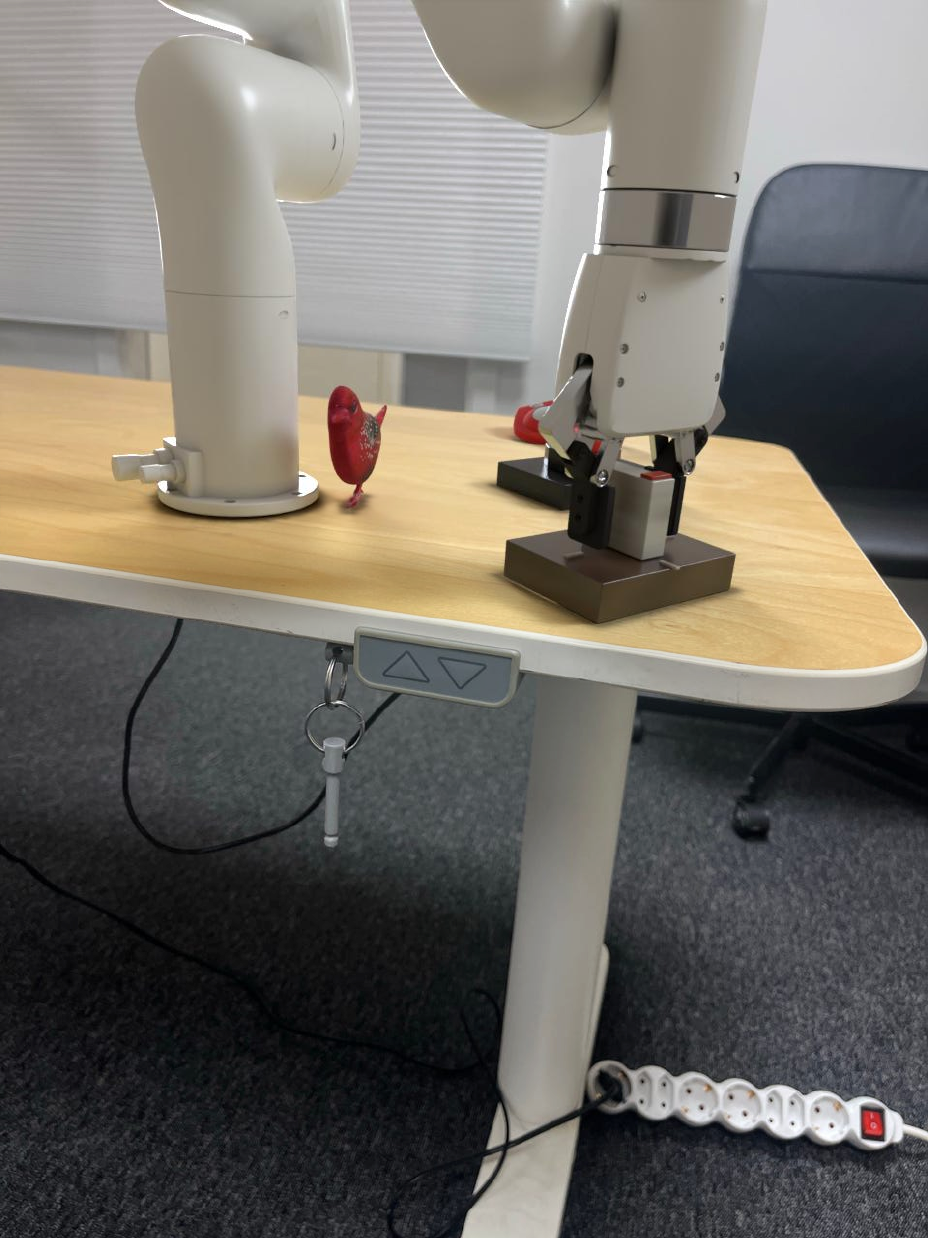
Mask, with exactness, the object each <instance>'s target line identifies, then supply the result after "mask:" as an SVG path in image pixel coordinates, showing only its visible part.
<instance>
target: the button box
mask: <svg viewBox="0 0 928 1238" xmlns="http://www.w3.org/2000/svg"><path fill="white" fill-rule="evenodd" d="M592 453H593V455H594V456H595V458H596V456H597V453H598V452H592ZM616 461H618V462H622V463H625V464H628V465H631V466H635V467H638V468H641V469H644V466H645V465H643V464H640V463H637V462H633V461H630V460H627V459H623V458H622V448H621V449H620V452H619V455H618V458H617V460H616ZM496 472H497V473H496V482H495V483H496V484H495V485H496V486H497V487H500V488H502V489H505V490H508V491H510V492H511V493H515V494H517V495H520V496H523V497H525V498H528V499H530V500H533V501H534V502H535V501H536V502H538V503H541V504H543V505H545V506H548V507H551V508H553V509H556V510H559V511H561V512H564V511H569V510H570V501H571V491H572V482H573V478H571V477H568V476H567V475H566V473H565V466H564V465H563V463H562V462H561V461H560V459H559V458H558V456H557V455H556V453H555V450H554V448H552V447H551V446H550V445H549V443H546V444H545V448H544V456H537V457H529V458H519V459H511V460H500V461H498V462H497V469H496Z"/></svg>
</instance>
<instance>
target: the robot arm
mask: <svg viewBox="0 0 928 1238" xmlns="http://www.w3.org/2000/svg"><path fill="white" fill-rule="evenodd" d="M157 1H158V2H160V3H161V4H162V5H164V6H165V7H166V8H169V9H171V10H173V11H175V12H176V13H178V14H180V15H183V16H185V17H188V18H190V19H192V20H195V21H198V22H200V23H201V22H202V23H204V24H208V25H209V26H210V25H211V26H214V27H217V28H220V29H222V30H225V31H229V32H232V33H236V34H238V35H240V36H242V39H243V43H242V42H239V41H236V40H232V39H230V38H226V37H222V36H216V35H211V34H200V33H199V34H198V33H197V34H195V33H194V34H183V35H179V36H176V37H173V38H170V39H168V40H167V41H164V42H163V43H161V44H160V45H158V46H157V47H156V48H155V49H154V50H153V51H152V52H151V53H150V54H149V56H148V57H147V59H146V60H145V61H144V63H143V65H142V67H141V69H140V72H139V75H138V79H137V81H136V86H135V94H134V114H135V115H134V116H135V123H136V130H137V135H138V139H139V144H140V149H141V152H142V156H143V160H144V163H145V167H146V171H147V175H148V179H149V183H150V187H151V192H152V197H153V203H154V208H155V213H156V222H157V229H158V236H159V248H160V257H161V258H160V259H161V270H162V271H161V272H162V283H163V290H164V303H165V317H166V319H165V320H166V330H167V331H166V332H167V333H166V334H167V345H168V358H169V360H168V361H169V375H170V387H171V388H170V389H171V402H172V414H173V415H172V416H173V431H174V437H163V438H162V440H163V441H162V444H163V447H161V448H154V449H153V450H152V453H149V454H140V455H139V454H122V455H112V457H111V463H110V465H111V471H112V475H113V478H114V480H115V481H116V482H117V483H118V482H127V481H138V480H139V481H140V483H141V484H142V485H148V484H157V486H156V487H157V495H158V496H157V498H158V499H159V501H160V502H162V503H163V504H164V505H165V506H167V507H169V508H172V509H175V510H177V511H181V512H184V513H189V514H194V515H195V514H196V515H201V516H210V517H226V518H251V517H263V516H273V515H280V514H284V513H285V514H286V513H290V512H291V513H292V512H294V511H298V510H302V509H304V508H306V507H308V506H311V505H312V504H314V502H316V501H317V500H318V498H319V496H320V493H319V491H320V490H319V489H320V487H319V486H320V485H319V483H318V480H317V479H316V478H314V477H313V476H312V475H309V474H307V473H305V472H302V471H300V433H299V431H300V430H299V424H300V423H299V373H298V372H299V370H298V308H297V307H298V306H297V300H298V299H297V281H296V280H297V275H296V263H295V254H294V250H293V244H292V241H291V237H290V234H289V230H288V227H287V225H286V222H285V219H284V216H283V213H282V210H281V208H280V207H281V206H280V205H279V202H287V203H294V204H295V203H297V204H315V203H319V202H320V203H321V202H324V201H326V200H329V199H331V198H333V197H335V196H336V195H337V194H338V193H340V192H341V191H342V190H343V189H344V188H345V187H346V185H347V184H348V182H349V181H350V179H351V177H352V176H353V174H354V171H355V169H356V165H357V163H358V159H359V156H360V155H359V154H360V148H361V135H362V134H361V133H362V128H361V107H360V105H361V104H360V96H359V86H358V76H357V67H356V58H355V47H354V39H353V30H352V29H353V28H352V27H353V26H352V19H351V11H350V10H351V9H350V1H349V0H157ZM410 1H411V3H412V5H413V8H414V11H415V13H416V15H417V18H418V20H419V23H420V25H421V28H422V30H423V33H424V34H425V37H426V40H427V41H428V44H429V46H430V48H431V50H432V53H433V55H434V56H435V58H436V60H437V62H438V64H439V66H440V68H441V69H442V70H443V72H444V74H445V75H446V76H447V78H448V79H449V81H450V82H451V83H452V85H453V86H454V88H455V89H456V90H457V91H458V92H459V93H460V94H461V95H462V96H463V98H465V99H466V100H468V101H469V102H470V103H471V104H473V105H474V106H476V107H477V108H479V109H482V110H484V111H486V112H488V113H491V114H493V115H496V116H499V117H503V118H507V119H509V120H513V121H515V122H518V123H521V124H524V125H526V126H527V127H530V128H533V129H537V130H539V131H543V132H546V133H549V134H553V135H558V136H583V135H590V134H596V133H601V132H602V133H603V132H606V133H605V141H604V142H605V143H604V153H603V162H602V172H601V181H600V192H599V200H598V209H597V218H596V228H595V237H594V243H595V244H594V246H593V253H583V255H582V257H581V261H580V263H579V266H578V269H577V273H576V276H575V280H574V283H573V286H572V290H571V293H570V297H569V301H568V306H567V307H568V308H567V311H566V315H565V321H564V326H563V331H562V335H561V336H562V337H561V342H560V349H559V354H558V359H557V360H558V361H557V368H556V374H555V382H554V383H555V384H554V391H553V392H554V393H553V400H554V402H553V403H552V405H551V406H550V407H549V409H548V410H547V412H546V413H545V414H544V416H543V417H542V418H541V420H540V422H539V424H538V430H539V432H540V434H541V435H542V436H543V437H544V438H545V440H546V441H547V442H548V443H549V445H550V446H551V447H552V448H554V450H555V453H556V455H557V456H558V458H559V459H560V461H561V462H562V463H563V465H564V466H565V473H566V475H567V476H568V477H571V478H573V482H572V491H571V501H570V510H568V521H567V529H566V530H567V534H568V537H569V538H570V539H573V540H575V541H577V542H580V543H582V544H584V545H587V546H589V547H592V548H594V549H596V550H601V549H606V548H607V547H608V545H609V541H610V533H611V525H612V517H613V509H614V501H615V493H616V491H615V487H614V486H611V485H608V484H607V483H608V482H609V479H610V477H611V474H612V471H613V468H614V466H615V463H616V460H617V458H618V455H619V452H620V449H621V450H622V447H623V444H624V441H625V439H627V438H635V437H647V436H648V439H649V449H650V459H651V464H652V465H653V466H652V465H643V466H644V470H648V471H651V472H654V471H662V472H666V473H669V474H672V476H671V478H674V479H675V481H674V488H673V494H672V501H671V507H670V514H669V521H668V527H667V534H666V536H673V535H676V534H677V533H679V529H680V522H681V516H682V509H683V504H684V497H685V490H686V485H687V484H686V483H687V476H690V475H691V474H693V472H694V471H695V469H696V465H697V460H696V459H697V456H698V455H699V454H700V453H701V452H702V450H703V449H704V447H705V446H706V445H707V443H708V441H709V437H710V436H711V435H712V434H713V433H714V432H715V431H716V429H717V428H718V427H719V426H720V424H721V423H722V422H723V421H724V419H725V417H726V409H725V406H724V404H723V401H722V399H721V397H720V395H719V390H720V386H721V385H720V384H721V379H722V371H723V365H724V357H725V349H726V348H725V347H726V341H727V340H726V339H727V327H728V315H729V314H728V311H729V290H730V289H729V288H730V287H729V285H730V284H729V283H730V275H729V261H728V258H729V251H730V244H731V239H732V232H733V227H734V221H735V213H736V208H737V201H738V198H737V197H738V195H739V194H738V193H739V188H740V183H741V182H740V181H741V177H742V175H741V174H742V169H743V163H744V157H745V151H746V145H747V138H748V133H749V126H750V119H751V113H752V107H753V102H754V95H755V89H756V83H757V77H758V71H759V70H758V69H759V65H760V58H761V51H762V45H763V38H764V33H765V32H764V31H765V25H766V19H767V10H768V0H410ZM574 426H579V428H578V431H577V434H576V433H575V431H574ZM669 438H670V440H669ZM595 440H598V441H601V445H600V448H599V451H598V453H597V456H596V458H595V456H594V455H593V453H592V452H591V451H592V448H593V445H594V443H595Z"/></svg>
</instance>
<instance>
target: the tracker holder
mask: <svg viewBox="0 0 928 1238" xmlns="http://www.w3.org/2000/svg"><path fill="white" fill-rule="evenodd" d="M553 402H554V399H552V400H551V399H550V400H547V401H542V402H540V401H535V402H532V403H530V404H528V405H524V406H519V407H518V408H517V410H516V413H515V416H514V419H513V426H512V428H513V429H512V430H513V434H514V436H516V438H519V439H520V440H522V441H524V442H527V443H530V444H537V445H546V443H548V442H547V441H546V440H545V438H544V437H543V436H542V435H541V434H540V432H539V430H538V424H539V422H540V420H541V418H542V417H543V416H544V414H545V413H546V412H547V410H548V409H549V407H550V406H551V405H552V403H553ZM574 428H579V426H574Z"/></svg>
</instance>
